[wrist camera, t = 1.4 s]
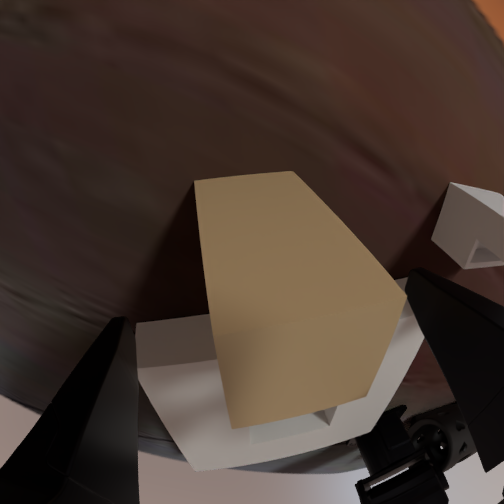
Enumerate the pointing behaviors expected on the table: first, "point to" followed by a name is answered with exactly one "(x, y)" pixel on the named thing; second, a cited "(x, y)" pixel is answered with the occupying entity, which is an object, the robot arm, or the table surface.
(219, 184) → the plug
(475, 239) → the white angled block
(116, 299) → the table surface
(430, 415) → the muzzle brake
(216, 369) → the socket plate
